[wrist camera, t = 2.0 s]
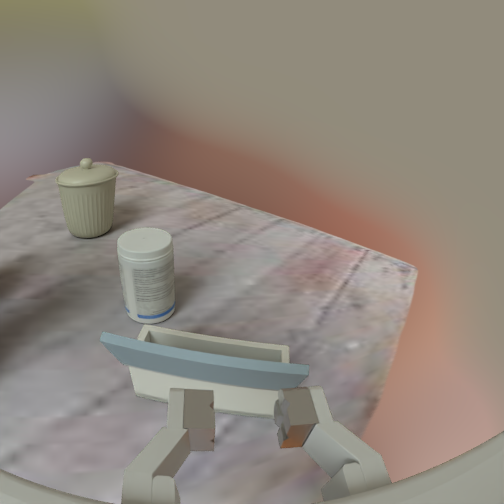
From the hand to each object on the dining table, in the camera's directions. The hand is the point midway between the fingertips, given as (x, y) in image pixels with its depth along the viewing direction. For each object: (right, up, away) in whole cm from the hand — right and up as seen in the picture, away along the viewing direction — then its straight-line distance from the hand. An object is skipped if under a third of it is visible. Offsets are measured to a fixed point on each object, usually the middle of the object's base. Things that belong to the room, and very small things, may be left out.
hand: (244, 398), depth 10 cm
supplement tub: (-19, -6, +45) cm, 49 cm away
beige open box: (-6, -15, +31) cm, 35 cm away
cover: (-5, -6, +20) cm, 22 cm away
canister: (-46, +11, +70) cm, 84 cm away
